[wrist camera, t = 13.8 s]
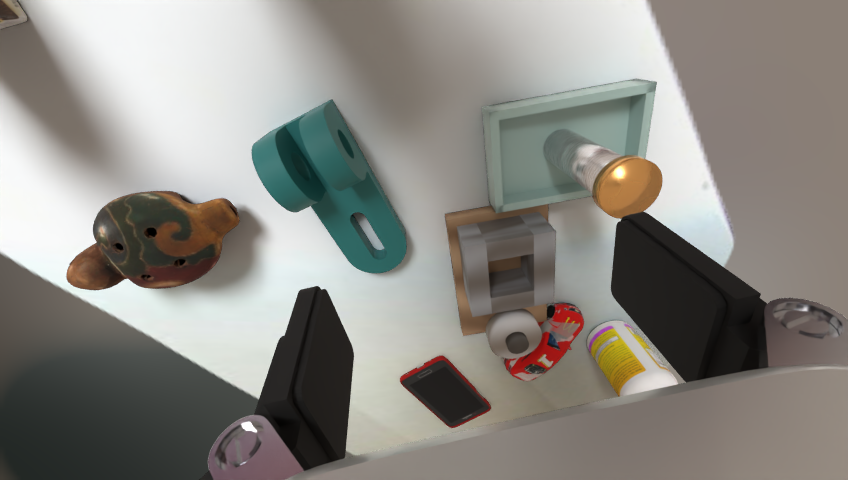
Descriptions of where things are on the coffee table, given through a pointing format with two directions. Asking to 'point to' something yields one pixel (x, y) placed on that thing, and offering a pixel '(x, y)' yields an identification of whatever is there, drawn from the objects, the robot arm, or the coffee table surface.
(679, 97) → the coffee table surface
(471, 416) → the cell phone
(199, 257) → the green brown ocarina
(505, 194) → the tray
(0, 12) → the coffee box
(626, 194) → the pin
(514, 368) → the race car
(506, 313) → the square socket fixture board
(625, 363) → the supplement bottle
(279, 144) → the bracket
